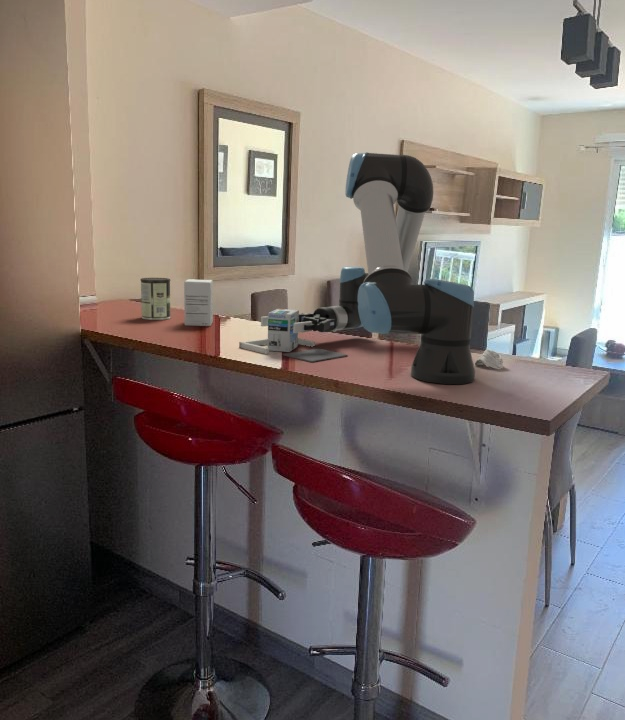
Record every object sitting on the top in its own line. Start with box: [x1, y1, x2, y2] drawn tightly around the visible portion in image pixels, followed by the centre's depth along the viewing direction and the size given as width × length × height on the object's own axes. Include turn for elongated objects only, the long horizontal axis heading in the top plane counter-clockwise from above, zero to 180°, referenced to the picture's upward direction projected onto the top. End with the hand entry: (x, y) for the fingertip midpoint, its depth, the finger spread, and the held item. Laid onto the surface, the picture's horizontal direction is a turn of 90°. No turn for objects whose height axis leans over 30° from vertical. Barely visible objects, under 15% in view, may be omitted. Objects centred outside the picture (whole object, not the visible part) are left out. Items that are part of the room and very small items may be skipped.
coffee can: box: [140, 277, 171, 321], centre depth 228 cm, size 10×10×14 cm
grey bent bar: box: [238, 337, 316, 355], centre depth 184 cm, size 12×19×2 cm, turn 136°
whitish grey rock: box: [474, 349, 504, 370], centre depth 169 cm, size 8×7×5 cm
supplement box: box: [183, 278, 214, 327], centre depth 219 cm, size 9×9×15 cm
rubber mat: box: [282, 347, 348, 363], centre depth 174 cm, size 11×14×1 cm
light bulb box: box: [267, 308, 300, 353], centre depth 182 cm, size 11×7×11 cm, turn 168°
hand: (277, 324), depth 180 cm, fingers open, 13 cm apart
